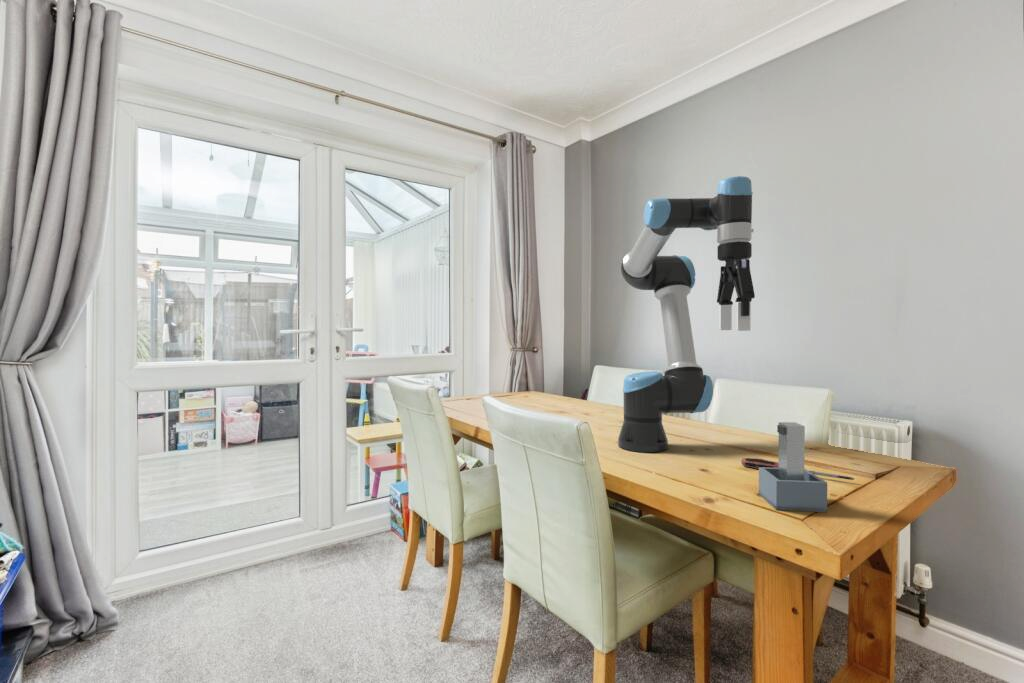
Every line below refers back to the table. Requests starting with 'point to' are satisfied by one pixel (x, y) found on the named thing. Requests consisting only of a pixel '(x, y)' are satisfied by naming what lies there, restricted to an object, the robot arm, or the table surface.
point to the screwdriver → (765, 463)
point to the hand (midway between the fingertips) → (734, 330)
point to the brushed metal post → (791, 451)
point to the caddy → (793, 491)
